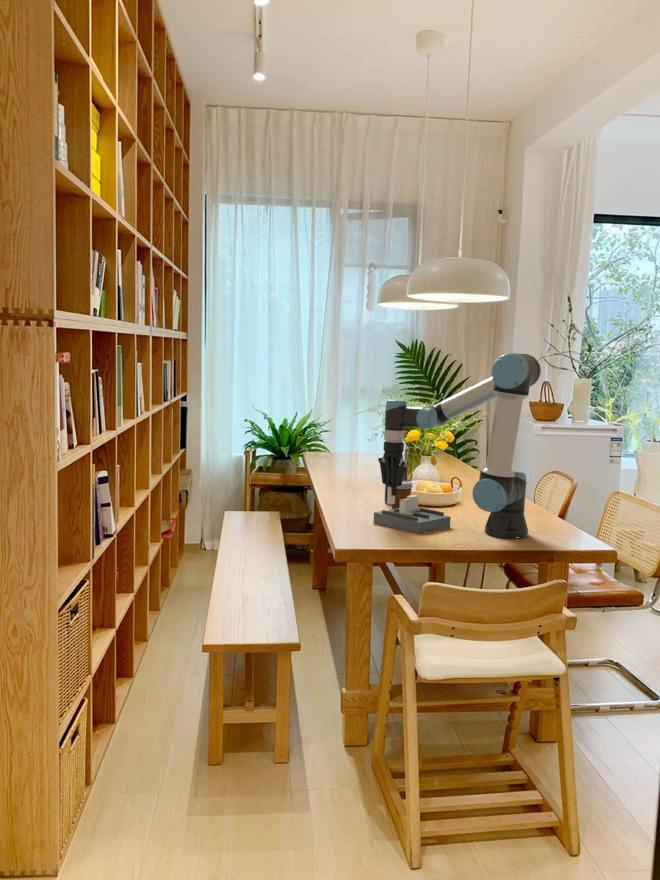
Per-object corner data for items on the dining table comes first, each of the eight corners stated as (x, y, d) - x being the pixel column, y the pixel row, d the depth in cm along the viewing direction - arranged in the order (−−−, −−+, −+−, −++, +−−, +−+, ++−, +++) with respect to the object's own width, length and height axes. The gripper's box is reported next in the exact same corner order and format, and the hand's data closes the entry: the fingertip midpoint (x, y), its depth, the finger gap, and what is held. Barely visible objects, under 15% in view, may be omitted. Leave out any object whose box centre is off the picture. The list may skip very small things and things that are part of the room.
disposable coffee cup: (391, 513, 302) (393, 483, 300) (385, 508, 311) (386, 480, 310) (414, 513, 304) (416, 484, 302) (407, 508, 313) (409, 480, 312)
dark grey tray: (450, 527, 280) (451, 501, 279) (419, 533, 267) (420, 506, 266) (404, 517, 295) (405, 492, 294) (373, 522, 283) (374, 496, 282)
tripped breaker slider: (413, 515, 278) (414, 499, 278) (405, 516, 275) (405, 501, 274) (405, 513, 281) (406, 497, 281) (396, 514, 278) (397, 499, 277)
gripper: (414, 442, 278) (410, 505, 281) (387, 438, 287) (384, 499, 290) (400, 443, 273) (397, 507, 275) (374, 439, 282) (371, 501, 285)
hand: (390, 503), depth 283 cm, fingers closed
